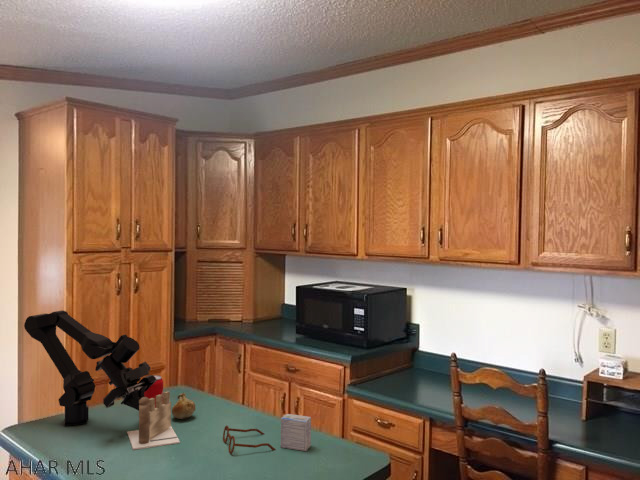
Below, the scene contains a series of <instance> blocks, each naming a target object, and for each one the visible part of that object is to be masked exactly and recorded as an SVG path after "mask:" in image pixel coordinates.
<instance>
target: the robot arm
mask: <svg viewBox="0 0 640 480" xmlns="http://www.w3.org/2000/svg"><path fill="white" fill-rule="evenodd" d="M68 313H69V312H67V311H66V310H62V309H61V310H56V311H52V312H50V313H40V314H34V315H29V316H28V317H27V318H26V319H25V320H24V325H23V326H24V330H25V331H26V332H27V334H28V335H29V336H30V337H31V339H34V340H36V341H38V342H39V343H40V344H41V345H42V346H43V348H44V350H45V352H46V353H47V354H48V356H49V358H50V360H51V361H52V363H53V364H54V365H55V367H56V369H57V371H58V373H59V374H60V375H61V377H62V383H63V385H62V388H63V391H64V393H63V394H62V395H61V396H60V397H59V398H58V403H59V406H60V407H64V418H63V426H64V427H71V426H79V425H80V426H81V425H85V424H88V421H89V411H90V410H89V405H88V404H87V403H88V401H91V400H92V398H93V395H94V393H95V388H96V384H95V379H93V377H92V376H91V374H90V372H89V371H88V370H85V371H82V370H80V369H79V368H78V367H77V365H76V364H75V362H74V361H73V359H72V357H71V356H70V354H69V353H68V350H66V348H65V346H64V344H63V343H62V341H61V340H60V338H59V337H58V335H57V328H59V329H60V330H61V331H63V332H64V333H65V334H66V335H68V336H69V337H70V338H72V339H73V340H74V341H75V342H77V343H78V344H79V345H80V347H81V351H82V352H84V354H85V355H86V356H87V357H88V358H89V359H90V360H96V359H100V358H102V360H99V361H97V362H96V365H95V369H94V370H95V371H96V372H99V371H101V370H102V371H103V372H104V373H105V375H106V377H107V378H108V379H109V381H108V384H109V385H110V386H111V385H113V386H114V387H115V388H113V389H111V390H110V391H109V392H108V393H107V395H105V397H103V399H102V400H103V401H102V402H103V403H102V404H103V405H104V407H105V408H106V409H108V408H111V407H112V406H114V405H115V401H116V400H118V399H120V398H121V400H122V401H121V402H120V404H121V405H125V406H127V407H130V408H132V409H135V410H137V411H138V412H139V400H140V399H141V398H142V397H145V395H144V392H146V391H147V390H148V389H149V388H150V387H151V386H152V385H153V384H154V383H155V382H156V381H157V379H156V378H155V377H154V374H150V371H151V366H150V365H149V363H148V362H146V361H143V362H141V363H139V364H138V367H136V368H132V367H129V366H128V367H127V366H126V365H125V364H126V363H129V361H130V360H131V359H133V357H134V355H136V353H137V352H139V350H140V344H139V343H138V341H137V340H136V339H134V338H132V337H129V336H128V335H127V334H122V335H120V336H119V338H118V339H117V341H116V342H115V341H112V340H111V338H109V337H106V336H104V335H103V334H100V333H96V332H92V331H91V330H90V329H88V328H87V327H86V326H84V325H83V324H82V323H80V321H77V320H76V319H75V318H74V317H72V316H71V315H70V314H68Z"/></svg>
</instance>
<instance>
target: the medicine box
mask: <svg viewBox="0 0 640 480" xmlns="http://www.w3.org/2000/svg"><path fill="white" fill-rule="evenodd" d="M311 431H312V417H311V416H307V415H300V414H291V413H287V414H284V415H283V416H282V417H281V418H280V448H284V449H289V450H290V449H291V450H298V451H303V452H306V451H308V449H309V448H310V447H311V445H312V432H311Z"/></svg>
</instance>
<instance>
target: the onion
mask: <svg viewBox="0 0 640 480" xmlns="http://www.w3.org/2000/svg"><path fill="white" fill-rule="evenodd" d="M177 399H178V400H177V402H176V403H175V404H174V405H173V406H172V407H171V416H173V417H174V418H176V419H177V420H178V419H179V420H186V419H189V418H190V417H191V416H192V415H193V414H194V412H195V411H196V404H195V402H194V401H193V400H191V399H189V398H187V397H186V392H183V393H179V394H178V395H177Z"/></svg>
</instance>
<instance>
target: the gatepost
mask: <svg viewBox="0 0 640 480" xmlns="http://www.w3.org/2000/svg"><path fill="white" fill-rule="evenodd" d="M149 404H150V400H149V398H147V397H142V398H141V399H140V400H139V411H138V430H139V443H140V444H146V443H148V442H149Z"/></svg>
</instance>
